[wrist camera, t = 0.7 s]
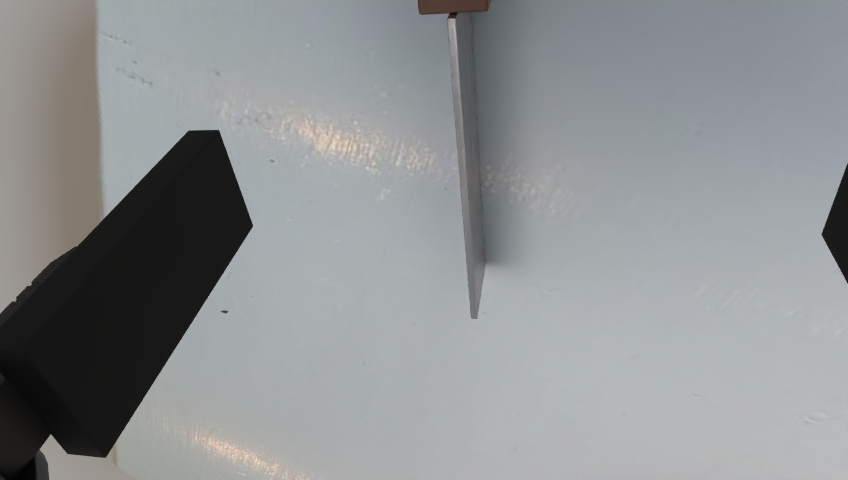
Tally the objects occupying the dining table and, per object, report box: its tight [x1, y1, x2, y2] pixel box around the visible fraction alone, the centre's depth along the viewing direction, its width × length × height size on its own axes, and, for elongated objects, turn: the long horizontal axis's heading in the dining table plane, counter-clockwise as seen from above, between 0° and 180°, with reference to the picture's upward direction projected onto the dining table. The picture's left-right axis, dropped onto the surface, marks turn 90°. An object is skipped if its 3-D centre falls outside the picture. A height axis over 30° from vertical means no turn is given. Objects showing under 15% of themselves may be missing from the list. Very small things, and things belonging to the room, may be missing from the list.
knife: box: [418, 0, 491, 319], centre depth 23 cm, size 24×2×4 cm, turn 6°
